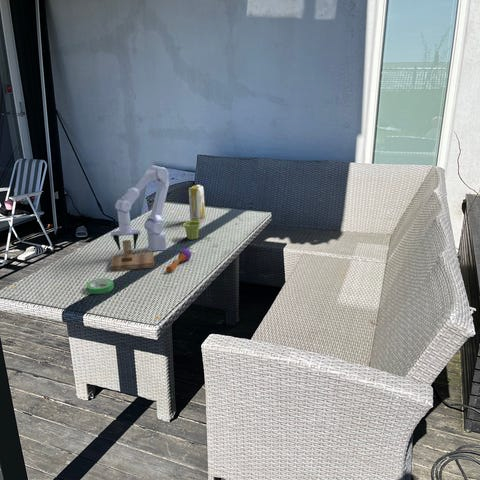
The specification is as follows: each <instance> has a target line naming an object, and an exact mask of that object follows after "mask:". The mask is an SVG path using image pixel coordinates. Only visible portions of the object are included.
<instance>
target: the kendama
mask: <svg viewBox="0 0 480 480" xmlns="http://www.w3.org/2000/svg"><path fill="white" fill-rule="evenodd" d="M191 257H192V252H191V250H190V249H188V248H182V249H181V250H179V254H178V256H177V260H175V261H174V262H172V263H171V264H169V265H168V266H166V268H165V269H166V272H167V273H173V272H174V270H175V269H176V267H178V265H179V263H180V262H186V261H189V260H190V259H191Z"/></svg>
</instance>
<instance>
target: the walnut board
mask: <svg viewBox="0 0 480 480" xmlns="http://www.w3.org/2000/svg"><path fill="white" fill-rule="evenodd" d="M154 254H155V253H154V252H147V253H145V252H144V253H132V254H130V255H124V254H120V255H112V257H111V258H112V259H111V263H110V271H111V272H117V271H126V270H129V271H130V270H141V269H151V268H152V269H153V268H155V257H154V256H155V255H154Z"/></svg>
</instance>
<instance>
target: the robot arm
mask: <svg viewBox="0 0 480 480" xmlns="http://www.w3.org/2000/svg"><path fill="white" fill-rule="evenodd" d="M169 175H170V172H169V170H167V168H166V167H164V166H158V165H155V164H151V165H150V166H149V167H148V169H146V171H145V173H144V175H143V176H141V178H140V180H139V181H138V182H137V184H136V185H135V186H133V187H130V188H128V189H127V190H126V191H127V192H125V194H124V195H123V196H121V198H120V199H117V201H116V202H115V205H114V208H115V209H116V210H117V218H118V219H117V220H118V227H119V229H118V230H115V231H110V237H111V238H113V239H112V240H113V241H114V242H115V244H116V246H117V248H118V250H119V251H121V244H120V237H121V236H132V239H133V249H134V250H136V248H137V246H136V245H137V241H138V238H139V236H141V233H142V232H141V229H137V230H136V229H132V225H131V215H130V211H131V210H132V205H133V204H134V203H135V202H136V200H137V199H138V198H139V197H140V194H141V191H142V190H143V189H144V188H145V187H146V186H147V185H148V184H149V183H151V182H154V181H155V182H156V184H157V188H156V192H155V196H154V200H153V205H152V208H151V213H150V214H149V215H148V216H147V219H146V221H145V222H144V226H143V227H144V229H145V230H146V232H147V244H148V245H147V252H153V251H154V252H156V251H166V250H167V241H166V232H165V231H163V230H164V219H163V217H162V215H163V210H164V207H165V203H166V198H167V194H168V190H169V186H170V180H169Z"/></svg>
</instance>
